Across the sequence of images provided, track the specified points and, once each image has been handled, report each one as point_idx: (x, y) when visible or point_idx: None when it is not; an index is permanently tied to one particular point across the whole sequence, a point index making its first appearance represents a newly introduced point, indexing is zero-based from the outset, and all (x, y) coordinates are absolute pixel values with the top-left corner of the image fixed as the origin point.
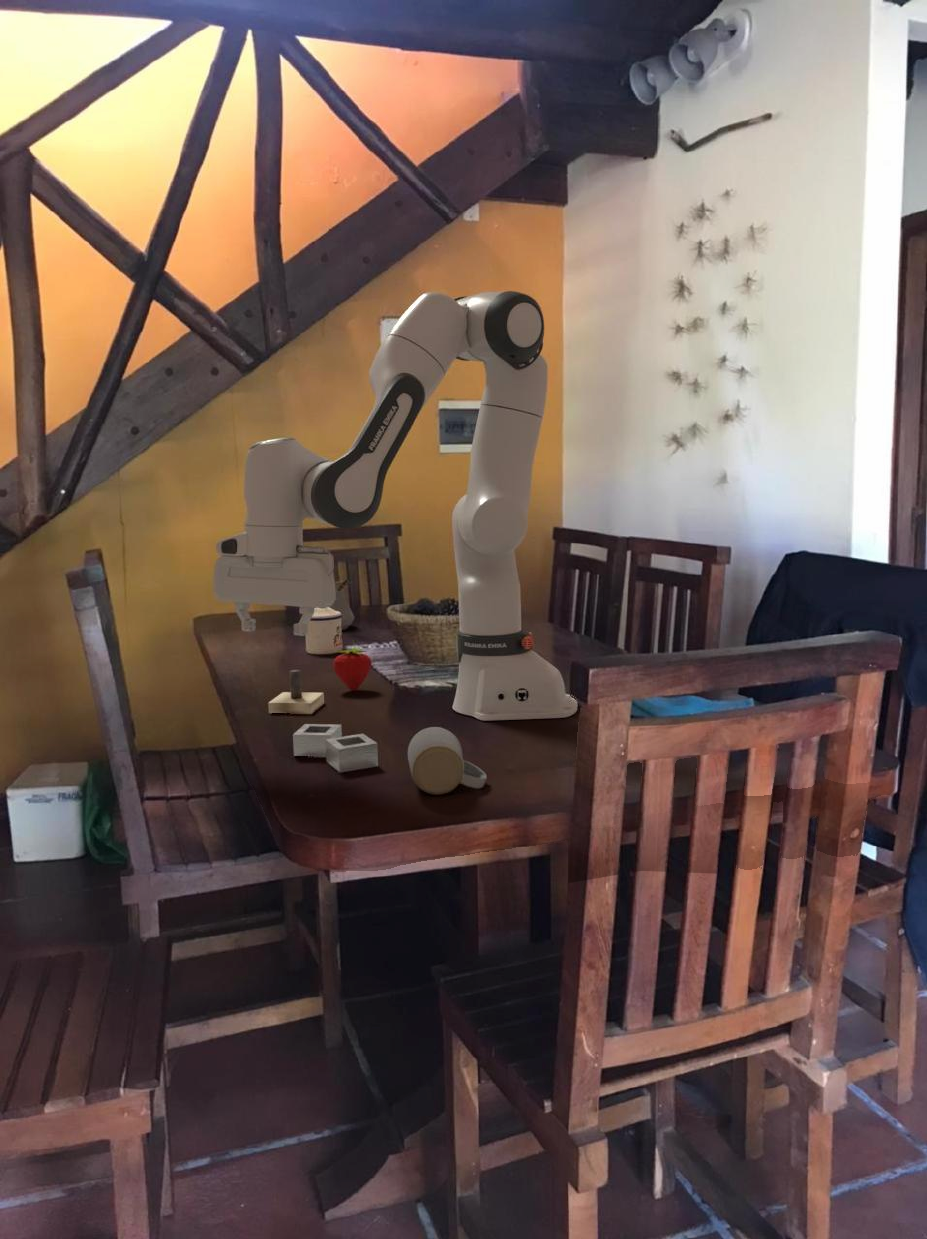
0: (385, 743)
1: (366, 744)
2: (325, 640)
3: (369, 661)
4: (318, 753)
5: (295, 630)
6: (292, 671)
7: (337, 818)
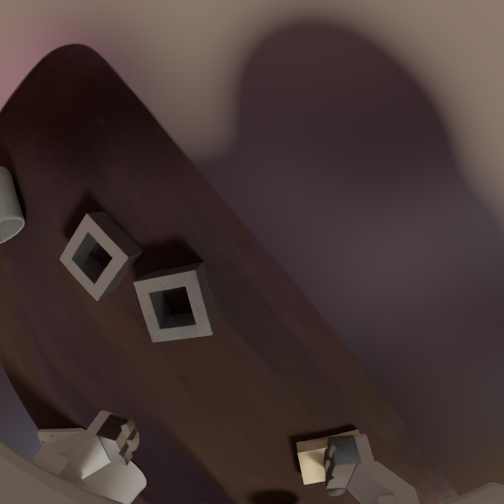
0: (119, 348)
1: (66, 248)
2: None
3: None
4: (164, 270)
5: (117, 424)
6: (339, 490)
7: (58, 83)
